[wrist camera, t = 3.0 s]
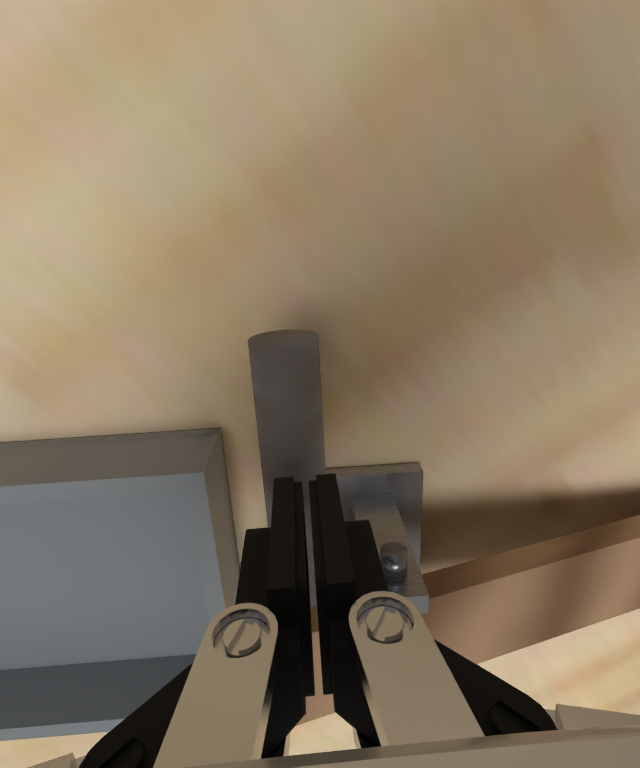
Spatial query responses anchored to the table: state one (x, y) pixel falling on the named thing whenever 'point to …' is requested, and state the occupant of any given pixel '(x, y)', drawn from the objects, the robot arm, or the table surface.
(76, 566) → the bin
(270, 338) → the lever
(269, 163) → the table surface
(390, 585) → the fulcrum
